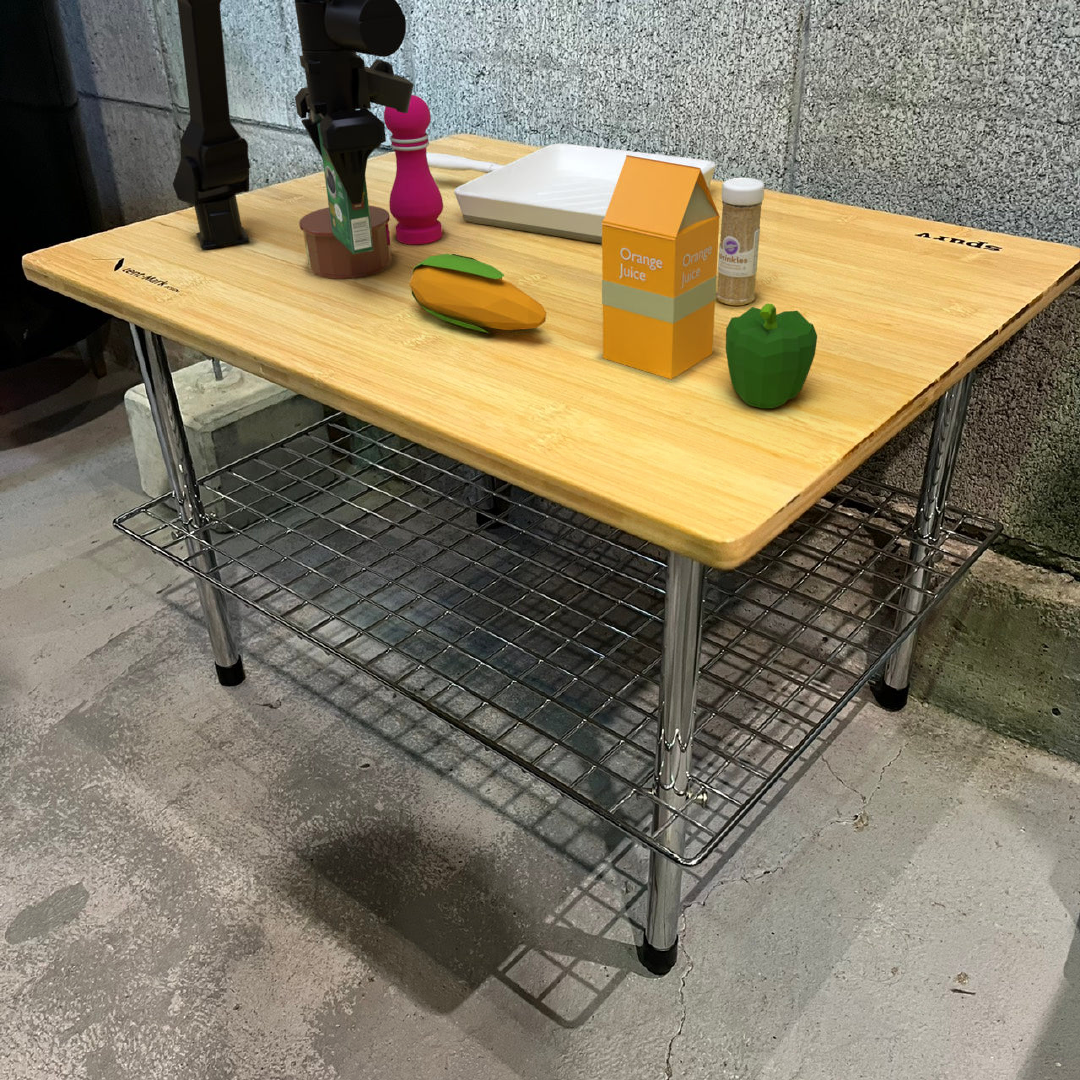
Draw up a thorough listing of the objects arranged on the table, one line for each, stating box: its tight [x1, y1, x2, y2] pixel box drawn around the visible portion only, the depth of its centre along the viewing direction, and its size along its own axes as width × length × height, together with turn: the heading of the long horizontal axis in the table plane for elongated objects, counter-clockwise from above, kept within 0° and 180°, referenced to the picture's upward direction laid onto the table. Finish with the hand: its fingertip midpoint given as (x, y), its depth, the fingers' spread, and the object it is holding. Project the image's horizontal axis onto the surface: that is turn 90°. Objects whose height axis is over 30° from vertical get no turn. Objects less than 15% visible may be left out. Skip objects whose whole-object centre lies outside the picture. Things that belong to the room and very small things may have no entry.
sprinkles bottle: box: [716, 177, 765, 306], centre depth 123 cm, size 5×5×14 cm
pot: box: [302, 222, 393, 280], centre depth 140 cm, size 11×11×6 cm
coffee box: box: [318, 123, 373, 254], centre depth 124 cm, size 8×3×13 cm, turn 26°
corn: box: [409, 253, 547, 334], centre depth 121 cm, size 7×8×20 cm
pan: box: [426, 142, 717, 245], centre depth 159 cm, size 28×45×5 cm, turn 58°
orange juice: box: [601, 155, 721, 380], centre depth 109 cm, size 8×9×20 cm
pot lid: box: [298, 205, 391, 237], centre depth 138 cm, size 11×11×2 cm
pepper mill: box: [383, 94, 444, 246], centre depth 144 cm, size 7×7×20 cm
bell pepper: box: [725, 303, 818, 409], centre depth 103 cm, size 8×8×10 cm
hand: (348, 193), depth 125 cm, fingers closed on coffee box, 8 cm apart
